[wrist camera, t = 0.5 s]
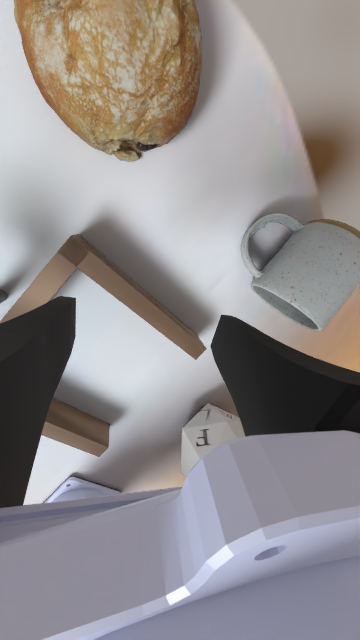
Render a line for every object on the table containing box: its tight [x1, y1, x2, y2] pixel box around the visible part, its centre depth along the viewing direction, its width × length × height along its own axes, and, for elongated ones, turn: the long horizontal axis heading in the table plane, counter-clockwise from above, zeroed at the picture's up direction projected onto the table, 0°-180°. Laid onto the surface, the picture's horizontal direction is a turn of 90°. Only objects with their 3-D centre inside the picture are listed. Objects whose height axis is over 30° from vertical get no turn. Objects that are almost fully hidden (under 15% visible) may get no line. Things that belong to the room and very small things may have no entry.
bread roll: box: [14, 0, 202, 162], centre depth 13 cm, size 10×10×8 cm
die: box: [181, 403, 245, 477], centre depth 26 cm, size 8×9×10 cm
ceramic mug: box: [241, 213, 360, 331], centre depth 20 cm, size 10×8×7 cm
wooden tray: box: [0, 234, 206, 457], centre depth 17 cm, size 16×20×8 cm
